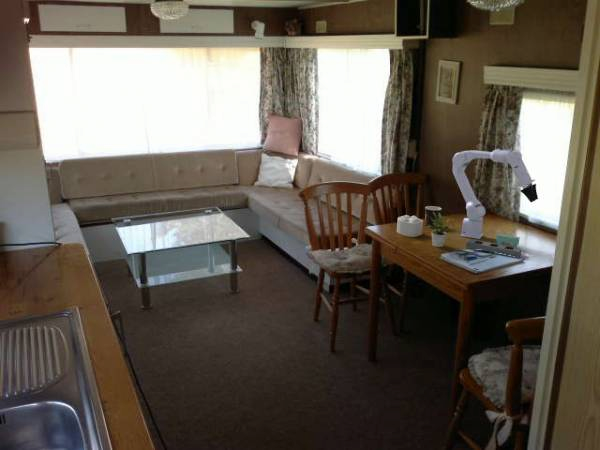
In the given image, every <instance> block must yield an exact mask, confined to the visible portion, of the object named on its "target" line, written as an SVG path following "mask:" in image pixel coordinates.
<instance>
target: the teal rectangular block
mask: <svg viewBox="0 0 600 450" xmlns="http://www.w3.org/2000/svg"><path fill="white" fill-rule="evenodd" d="M495 240H496V244H500V245H503V243H506V244H511V246H512V247H517V248H518V245H519V244H520V240H521V239H520V236H514V235H508V234H503V233H498V234H496V239H495Z"/></svg>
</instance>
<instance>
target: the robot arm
mask: <svg viewBox="0 0 600 450" xmlns="http://www.w3.org/2000/svg"><path fill="white" fill-rule="evenodd" d="M475 159H487V160H488V159H490V160H491V161H492V162H495V163H504V164H505V163H507V164H509V165H510V166H511V170H512V171H513V174H514V176H515V178H516V181H517V182H518V184H519V187H520V188H522V189H521V190H520V193H522V194H523V195H524V196H525V197H526V198H527V200H528V201H529V202H530V203H534V202H536V200H538V199H539V196H538V193H537V183H533V182H535V181H536V179H532V177H531V175H530V173H529V171H528V168H527V167H526V165H525V162H524V161H523V154H522V153H521V152H520V151H519V150H517V149H515V150H511V149H506V150H505V149H501V148H497V149H494V150H492V151H483V150H476V149H475V150H472V149H471V150H464V151H463V150H462V151H460V152H459V151H458V152H456V153H455V154H454V155H453V157H452V160H451V161H452V173H453V176H454V179H455V181H456V183H457V186H458V188H459V189H460V192H461V194H462V196H463V199H464V201H465V205H466V206H465V209H466V217H464V218H463V220H462V226H461V235H460V237H467V238H471V239H475V240H476V239H477V240H480V239H481V238H482V237H483V236H484V234H482V231H483V224H484V223H483V222H484V216H485V215H486V213H487V212H486V207H484V205H482V203H481V201H480V200H478V199H477V197H476V194H475V193H474V190H473V188H472V186H471V184H470V181H469V178H468V177H467V174H466V172H465V170H466V169H467V166H468V165H469V164H470V163H471V161H472V160H475Z"/></svg>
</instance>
